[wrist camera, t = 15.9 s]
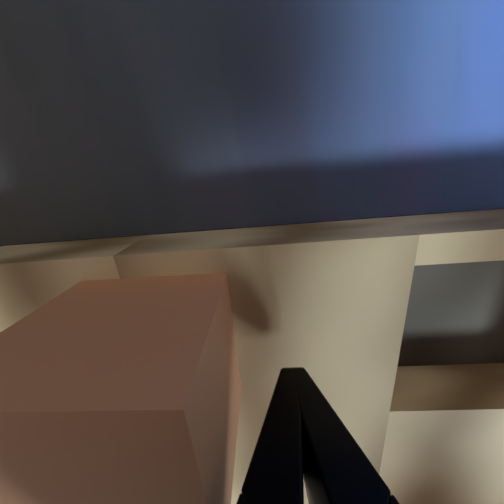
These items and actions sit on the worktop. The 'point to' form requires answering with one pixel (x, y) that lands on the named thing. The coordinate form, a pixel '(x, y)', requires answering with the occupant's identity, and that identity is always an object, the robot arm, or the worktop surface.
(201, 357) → the block
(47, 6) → the worktop surface
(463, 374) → the board
